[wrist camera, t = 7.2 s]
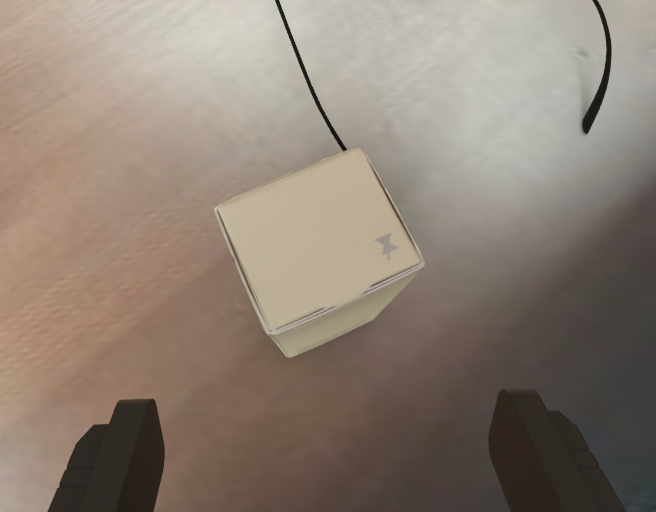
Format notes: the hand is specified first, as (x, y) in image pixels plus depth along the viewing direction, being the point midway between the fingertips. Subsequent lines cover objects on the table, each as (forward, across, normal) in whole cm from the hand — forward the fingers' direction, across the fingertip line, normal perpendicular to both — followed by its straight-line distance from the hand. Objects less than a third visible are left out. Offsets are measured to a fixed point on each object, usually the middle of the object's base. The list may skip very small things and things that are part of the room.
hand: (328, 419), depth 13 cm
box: (+14, 0, +7) cm, 15 cm away
